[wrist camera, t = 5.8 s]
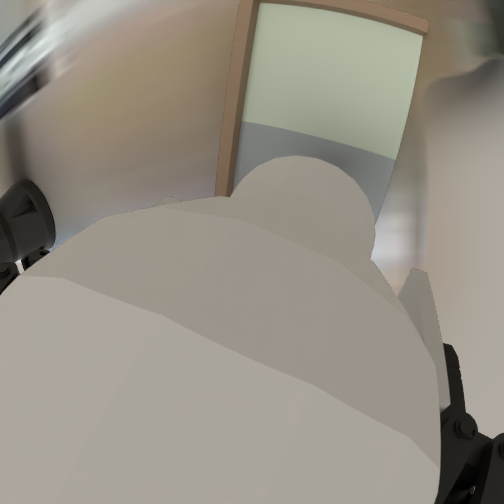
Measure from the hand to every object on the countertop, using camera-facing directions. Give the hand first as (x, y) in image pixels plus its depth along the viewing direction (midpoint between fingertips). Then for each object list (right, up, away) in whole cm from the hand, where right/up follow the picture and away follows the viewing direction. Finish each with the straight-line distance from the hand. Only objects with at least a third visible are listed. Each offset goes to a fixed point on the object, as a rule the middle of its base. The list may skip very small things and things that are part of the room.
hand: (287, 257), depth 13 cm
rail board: (+4, +13, +13) cm, 18 cm away
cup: (+1, +1, +3) cm, 3 cm away
